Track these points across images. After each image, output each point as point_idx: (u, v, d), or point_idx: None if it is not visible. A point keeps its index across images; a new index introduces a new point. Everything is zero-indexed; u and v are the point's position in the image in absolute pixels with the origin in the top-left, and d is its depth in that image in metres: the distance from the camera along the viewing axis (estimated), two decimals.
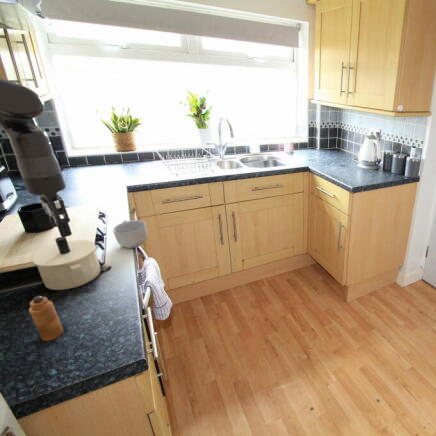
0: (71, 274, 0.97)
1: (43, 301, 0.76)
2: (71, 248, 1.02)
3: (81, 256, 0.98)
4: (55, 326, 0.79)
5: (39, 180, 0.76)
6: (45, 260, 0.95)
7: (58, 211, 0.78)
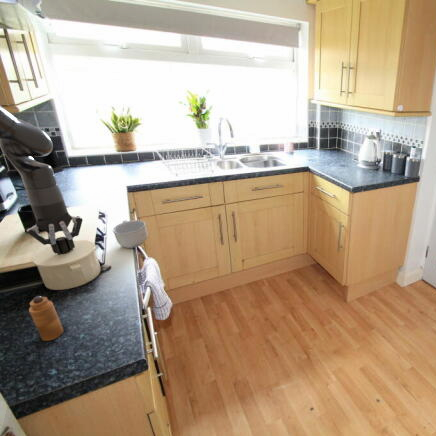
0: (71, 274, 0.97)
1: (43, 301, 0.76)
2: None
3: (81, 256, 0.98)
4: (55, 326, 0.79)
5: None
6: (45, 260, 0.95)
7: None
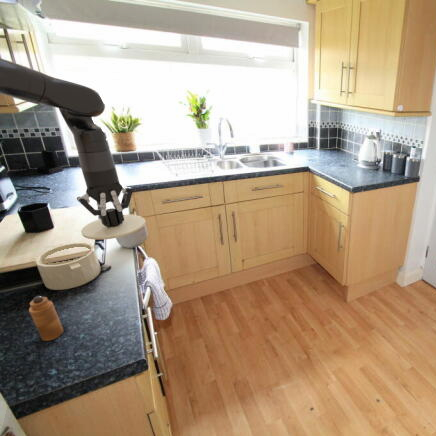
0: (71, 274, 0.97)
1: (43, 301, 0.76)
2: None
3: (132, 229, 0.91)
4: (55, 326, 0.79)
5: (115, 168, 0.88)
6: (95, 232, 0.88)
7: None
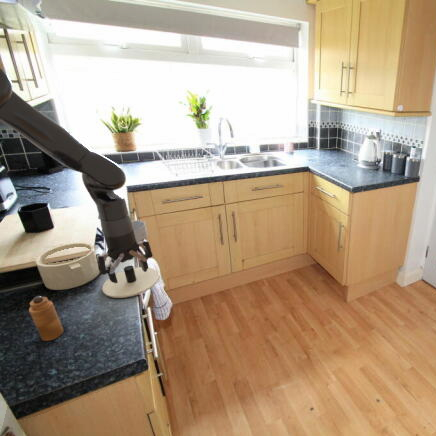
0: (71, 274, 0.97)
1: (43, 301, 0.76)
2: (136, 276, 1.03)
3: (149, 285, 0.98)
4: (55, 326, 0.79)
5: (133, 230, 0.95)
6: (115, 290, 0.96)
7: None
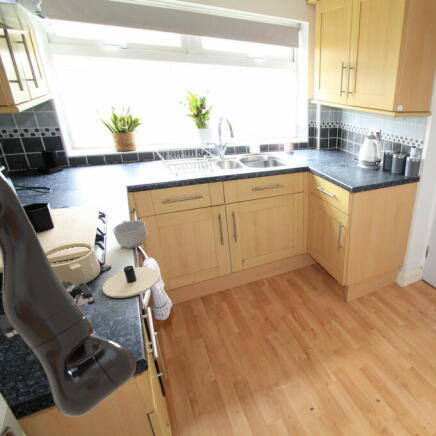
0: (71, 274, 0.97)
1: None
2: (136, 276, 1.03)
3: (149, 285, 0.98)
4: None
5: None
6: (115, 290, 0.96)
7: (2, 328, 0.58)
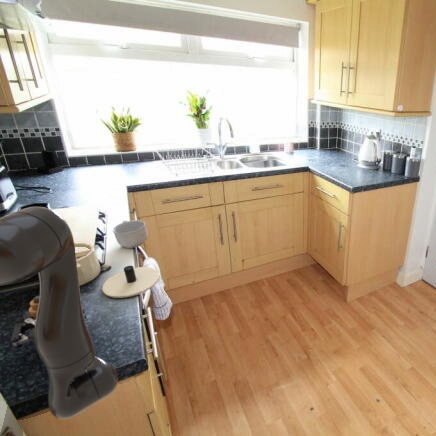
0: None
1: None
2: (136, 276, 1.03)
3: (149, 285, 0.98)
4: None
5: (36, 346, 0.68)
6: (115, 290, 0.96)
7: None
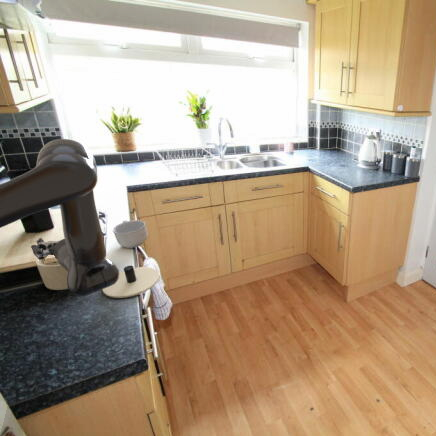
0: None
1: None
2: (136, 276, 1.03)
3: (149, 285, 0.98)
4: None
5: (56, 254, 0.87)
6: (115, 290, 0.96)
7: (35, 252, 0.89)
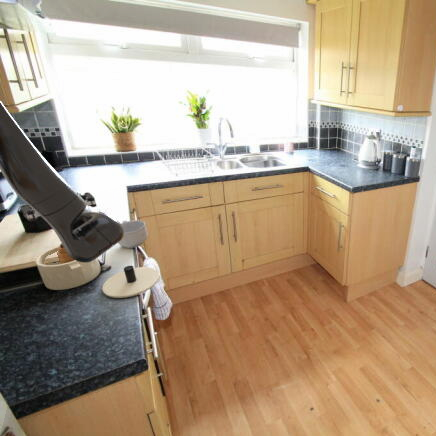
0: (71, 274, 0.97)
1: None
2: (136, 276, 1.03)
3: (149, 285, 0.98)
4: None
5: None
6: (115, 290, 0.96)
7: (25, 213, 0.75)
